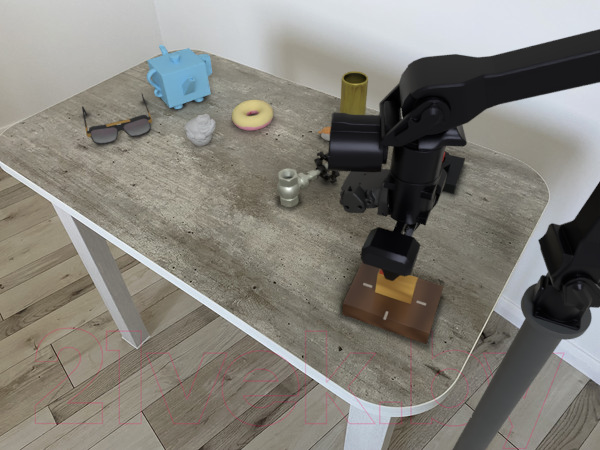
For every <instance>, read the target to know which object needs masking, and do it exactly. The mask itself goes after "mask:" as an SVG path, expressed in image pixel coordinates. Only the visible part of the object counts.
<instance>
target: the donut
mask: <svg viewBox="0 0 600 450" xmlns="http://www.w3.org/2000/svg"><path fill="white" fill-rule="evenodd" d="M273 109H274V108H272V106H271V105H270V103H268V102H267V101H265V100H262V99H249V100H244V101H242V102H240V103H238V104H237V105H236V106H235V107H234V108H233V110H232V112H231V121H232V123H233V124H234V125H235V126H236V128H238V129H240V130H243V131H246V132H247V131H250V132H252V131H253V132H254V131H259V130H261V129H264V128H267V126H268V125H270V124H271V122H272V121H273V118H274V110H273Z"/></svg>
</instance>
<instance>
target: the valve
mask: <svg viewBox="0 0 600 450" xmlns="http://www.w3.org/2000/svg"><path fill="white" fill-rule="evenodd" d="M324 161H326V162H325V163H324ZM313 162H314V164H315V166H316V167H315V169H310V170H309V171H307V172H306V174H305V173H303V172H299V173H297V170H296V169H293V168H288V167H287V168H283V169H281V170H280V171H278V172H277V175H278V183H277V187H276V189H277V194H278V195H279V200H280V205H281V206H283V207H286V208H292V207H294V206H296V205H298V204H299V194H300V190H304V189H306V188H308V187H309V183H310V182H313V181H315V180H316V179H318V177H320V178H321V179H322V180H323V182H325V183H326V182H328V181H329V182H330V183H331V184H335V183H336V182H338V178H339V177H340V176H341V173H340V171H331V173H330V171H328V152H326V153H324V151H322V150H320V151H318V152H316V158H314V160H313Z"/></svg>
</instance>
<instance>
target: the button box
mask: <svg viewBox="0 0 600 450" xmlns="http://www.w3.org/2000/svg"><path fill="white" fill-rule="evenodd" d="M465 161H466V158H465V157H461V156H458V155H453V154H450V153H449V152H448V151H446V150H445V156H444V160H443V162H442V165H441V167H442V168H443V169H444V170H445V171H446V173H447V177H446V181H445V185H444V187H443V190H442V192H445V193H449V194H452V195H454V194H455V192H456V189H457V186H458V183H459V180H460V177H461V174H462V172H463V168H464V165H465Z"/></svg>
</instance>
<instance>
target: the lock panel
mask: <svg viewBox="0 0 600 450" xmlns="http://www.w3.org/2000/svg"><path fill="white" fill-rule="evenodd" d="M378 272H379V268H376V267H373V266H370V265H367V264H364V263H363V262H362V261H361V263H360V265H359V268H358V270H357V271H356V274H355V277H354V278H353V281H352V282H351V285H350V287H349V289H348V292H347V293H346V296H345V297H344V298H345V299H344V300H343V302H342V313H341V314H342V315H343V316H346V317H349V318H351V319H354V320H357V321H360V322H362V323H365V324H368V325H371V326H374V327H377V328H380V329H383V330H385V331H388V332H390V333H394V334H396V335H400V336H402V337H405V338H406V339H411V340H413V341H416V342H418V343H422V344H424V345H427V343H428V341H429V337H430V333H431V330H432V327H433V323H434V320H435V317H436V314H437V310H438V307H439V303H440V300H441V297H442V294H443V290H444V285H441V284H439V283H436V282H432V281H429V280H426V279H423V278H419V277H418V279H417V283H416V287H415V291H414V295H413V299H412V301H411V304H409V303H406V302H403V301H400V300H397V299H394V298H391V297H388V296H385V295H382V294H379V293H376V292H375V289H376V282H377V275H378Z"/></svg>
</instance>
